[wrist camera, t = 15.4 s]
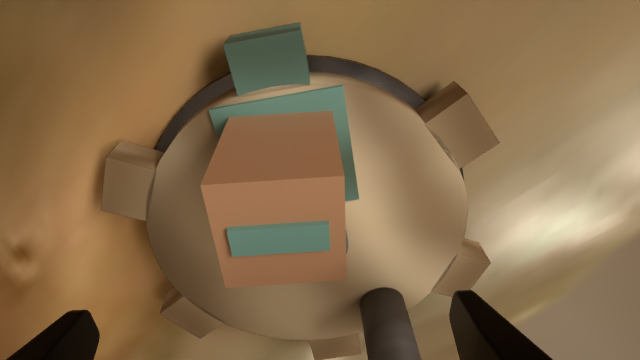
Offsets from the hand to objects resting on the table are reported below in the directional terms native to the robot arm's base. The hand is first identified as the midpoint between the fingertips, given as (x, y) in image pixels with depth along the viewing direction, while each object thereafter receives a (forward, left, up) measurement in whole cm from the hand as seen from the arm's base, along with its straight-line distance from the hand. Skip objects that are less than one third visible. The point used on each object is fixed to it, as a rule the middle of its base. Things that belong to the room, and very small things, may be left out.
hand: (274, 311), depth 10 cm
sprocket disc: (+4, 0, -10) cm, 11 cm away
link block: (0, 0, -8) cm, 8 cm away
